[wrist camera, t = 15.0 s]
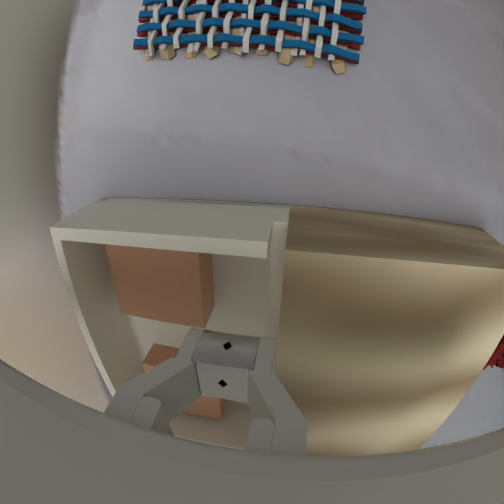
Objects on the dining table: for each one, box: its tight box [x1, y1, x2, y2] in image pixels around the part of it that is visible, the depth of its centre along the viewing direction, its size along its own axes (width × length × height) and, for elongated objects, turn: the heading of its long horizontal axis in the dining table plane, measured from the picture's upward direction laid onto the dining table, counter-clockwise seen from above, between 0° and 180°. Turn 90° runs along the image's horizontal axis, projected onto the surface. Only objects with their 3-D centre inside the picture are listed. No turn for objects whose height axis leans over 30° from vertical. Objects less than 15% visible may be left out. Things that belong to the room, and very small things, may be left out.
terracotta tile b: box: [105, 244, 215, 329], centre depth 14 cm, size 5×5×2 cm
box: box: [50, 198, 290, 450], centre depth 16 cm, size 16×10×4 cm, turn 179°
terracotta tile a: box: [142, 343, 227, 420], centre depth 18 cm, size 5×5×2 cm
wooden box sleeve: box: [274, 205, 504, 456], centre depth 14 cm, size 16×11×5 cm
